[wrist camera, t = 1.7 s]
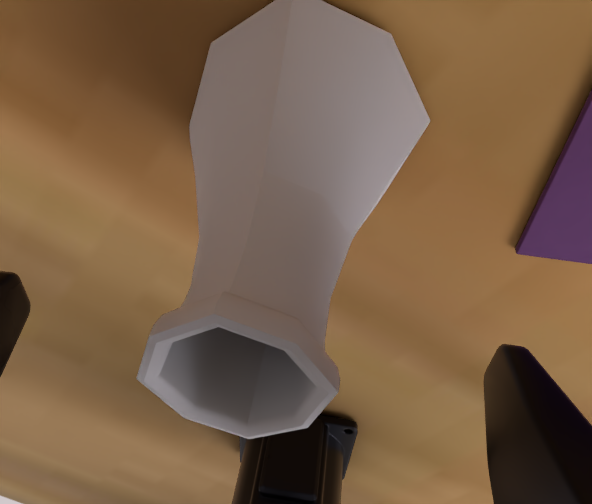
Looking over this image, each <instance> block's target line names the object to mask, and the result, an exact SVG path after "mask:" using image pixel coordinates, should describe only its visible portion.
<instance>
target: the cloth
mask: <svg viewBox="0 0 592 504" xmlns="http://www.w3.org/2000/svg"><path fill="white" fill-rule="evenodd" d="M515 250H516V253H517V254H521V255H529V256H536V257H544V258H551V259H558V260H566V261H573V262H581V263H588V264H592V90H591V92H590V94H589V96H588V98H587V100H586V102H585V104H584V107H583V109H582V111H581V113H580V115H579V117H578V119H577V121H576V123H575V125H574V127H573V129H572V132H571V134H570V136H569V138H568V140H567V142H566V144H565V146H564V148H563V150H562V152H561V154H560V157H559V159H558V161H557V163H556V165H555V167H554V169H553V171H552V173H551V175H550V177H549V179H548V182H547V184H546V186H545V188H544V190H543V192H542V194H541V196H540V198H539V200H538V202H537V205H536V207H535V209H534V211H533V213H532V215H531V217H530V219H529V221H528V223H527V225H526V227H525V230H524V232H523V234H522V236H521V238H520V240H519V242H518V244H517V246H516V248H515Z"/></svg>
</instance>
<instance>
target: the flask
mask: <svg viewBox="0 0 592 504" xmlns="http://www.w3.org/2000/svg"><path fill="white" fill-rule="evenodd" d="M429 123H430V119H429V116H428V114H427V112H426V110H425V107H424V105H423V103H422V101H421V99H420V96H419V94H418V92H417V90H416V88H415V85H414V83H413V81H412V79H411V77H410V74H409V72H408V70H407V68H406V66H405V63H404V61H403V59H402V57H401V55H400V52H399V50H398V48H397V46H396V44H395V41H394V39H393V37H392V35H391V33H389V32H386V31H384V30H382V29H380V28H378V27H376V26H374V25H372V24H370V23H368V22H366V21H363V20H361V19H359V18H357V17H355V16H353V15H351V14H349V13H347V12H345V11H343V10H340V9H338V8H336V7H334V6H332V5H330V4H328V3H326V2H324V1H322V0H275V1H273V2H272V3H270V4H269V5H267V6H266V7H264V8H263V9H261V10H260V11H258V12H257V13H255V14H254V15H252V16H251V17H249V18H248V19H246V20H245V21H243V22H242V23H240V24H239V25H237V26H236V27H234V28H233V29H231V30H230V31H228V32H227V33H225V34H223V35H222V36H220V37H219V38H217V39H216V40H214V41H213V42H211V45H210V49H209V52H208V56H207V60H206V64H205V68H204V71H203V75H202V79H201V83H200V87H199V90H198V94H197V98H196V102H195V106H194V109H193V113H192V117H191V121H190V125H189V132H190V143H191V150H192V157H193V164H194V171H195V178H196V193H197V209H198V224H199V243H198V248H197V254H196V259H195V265H194V270H193V276H192V282H191V286H190V289H189V291H188V294H187V296H186V299H185V301H184V302H183V304H182V305H181V307H180V308H178V309H175V310H173V311H170V312H167V313H165V314H163V315H162V316H161V317H160V318H159V319H158V320H157V321H156V323H155V324H154V325H153V328H152V330H151V333H150V335H149V338H148V342H147V345H146V348H145V352H144V355H143V358H142V362H141V365H140V368H139V372H138V375H137V378H136V379H137V380H138V381H140V382H141V383H142V384H143V385H144V386H146V387H147V388H148V389H149V390H151V391H152V392H153V393H154V394H155V395H157V396H158V397H159V398H160V399H161V400H163V401H164V402H165V403H166V404H168V405H169V406H170V407H171V408H172V409H174V410H175V411H176V412H177V413H178V414H180V415H181V416H182V417H183V418H185V419H188V420H191V421H195V422H198V423H201V424H204V425H207V426H210V427H213V428H216V429H219V430H222V431H225V432H228V433H231V434H234V435H237V436H240V437H244V438H247V439H254V438H259V437H264V436H269V435H274V434H279V433H284V432H289V431H294V430H299V429H304V428H308V427H309V426H310V425H311V423H312V422H313V421H314V420H315V419H316V418H317V417H318V415H319V414H320V413H321V412H322V411H323V410H324V408H325V407H326V406H327V405H328V404H329V403H330V401H331V400H332V399H333V398H334V397H335V396H336V394H337V393H338V392H339V385H340V377H339V372H338V367H337V366H336V365H335V363H334V362H333V361H332V359H331V358H330V357H329V356H328V355H327V353H326V352H325V335H326V328H327V320H328V313H329V305H330V298H331V295H332V293H333V290H334V287H335V285H336V282H337V279H338V277H339V274H340V271H341V268H342V266H343V263H344V260H345V258H346V255H347V252H348V249H349V247H350V244H351V241H352V239H353V238H354V236H355V235H356V233H357V231H358V230H359V228H360V227H361V226H362V224H363V223H364V222H365V220H366V219H367V217H368V216H369V215H370V213H371V212H372V211H373V209H374V208H375V207H376V205H377V204H378V202H379V201H380V199H381V198H382V196H383V195H384V193H385V192H386V190H387V188H388V187H389V185H390V184H391V182H392V181H393V179H394V177H395V176H396V174H397V173H398V171H399V170H400V168H401V167H402V165H403V163H404V162H405V160H406V159H407V157H408V156H409V154H410V152H411V151H412V149H413V148H414V146H415V145H416V143H417V142H418V140H419V138H420V137H421V135H422V134H423V132H424V131H425V129H426V127H427V126H428V124H429Z"/></svg>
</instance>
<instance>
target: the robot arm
mask: <svg viewBox="0 0 592 504" xmlns="http://www.w3.org/2000/svg"><path fill="white" fill-rule="evenodd" d="M29 313H30V301H29V298H28V296H27V294H26V291H25V289H24V287H23V284H22V282H21V280H20V278H19V276H18V275H17V274H15V273H12V272H5V271H0V377H1V375H2V373H3V370H4V368H5V366H6V364H7V362H8V360H9V357H10V355H11V353H12V351H13V349H14V346H15V344H16V342H17V340H18V338H19V336H20V333H21V331H22V329H23V327H24V325H25V322H26V320H27V318H28V316H29ZM484 400H485V421H486V442H487V459H488V469H489V476H490V482H491V489H492V495H493V501H494V504H592V425H591V424H590V423H589V422H588V420H587V419H586V418H585V417H584V416H583V414H582V413H581V412H580V411H579V410H578V409H577V407H576V406H575V405H574V404H573V403H572V401H571V400H570V399H569V398H568V397H567V395H566V394H565V393H564V392H563V391H562V390H561V388H560V387H559V386H558V385H557V384H556V382H555V381H554V380H553V379H552V378H551V376H550V375H549V374H548V373H547V372H546V370H545V369H544V368H543V367H542V366H541V365H540V363H539V362H538V361H537V360H536V359H535V357H534V356H533V355H532V354H531V353H530V352H529V350H527V349H526V348H524V347H521V346H515V345H508V344H502V345H501V346H499V348H498V349H497V351H496V353H495V354H494V356H493V358H492V360H491V362H490V364H489V366H488V367H487V369H486V372H485V375H484ZM357 428H358V425H357V423H356V422H354V421H352V420H347V419H341V418H335V417H328V416H322V415H318V417H317V418H316V419H315V420H314V421H313V422H312V423H311V425H310V426H309V427H308V428H304V429H299V430H294V431H289V432H284V433H279V434H274V435H269V436H264V437H259V438H254V439H247V438H244V437H240V462H241V466H240V470H239V474H238V479H237V483H236V488H235V492H234V497H233V501H232V504H341V488H342V480H343V479H344V477H345V473H346V470H347V466H348V463H349V460H350V456H351V453H352V449H353V446H354V443H355V439H356V436H357Z"/></svg>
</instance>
